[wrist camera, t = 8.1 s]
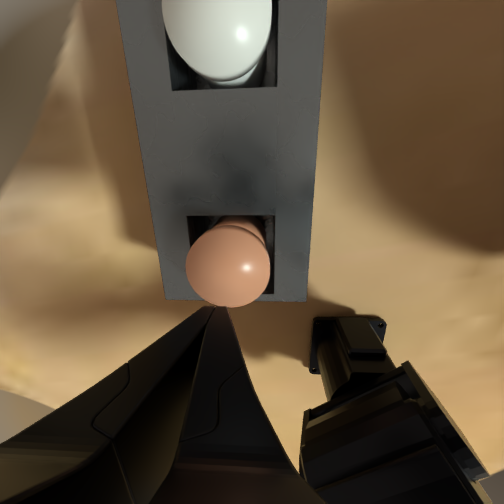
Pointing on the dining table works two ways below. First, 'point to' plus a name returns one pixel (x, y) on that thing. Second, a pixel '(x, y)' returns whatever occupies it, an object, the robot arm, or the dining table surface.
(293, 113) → the press block
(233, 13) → the plunger
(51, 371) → the dining table surface
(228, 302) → the terracotta plunger
